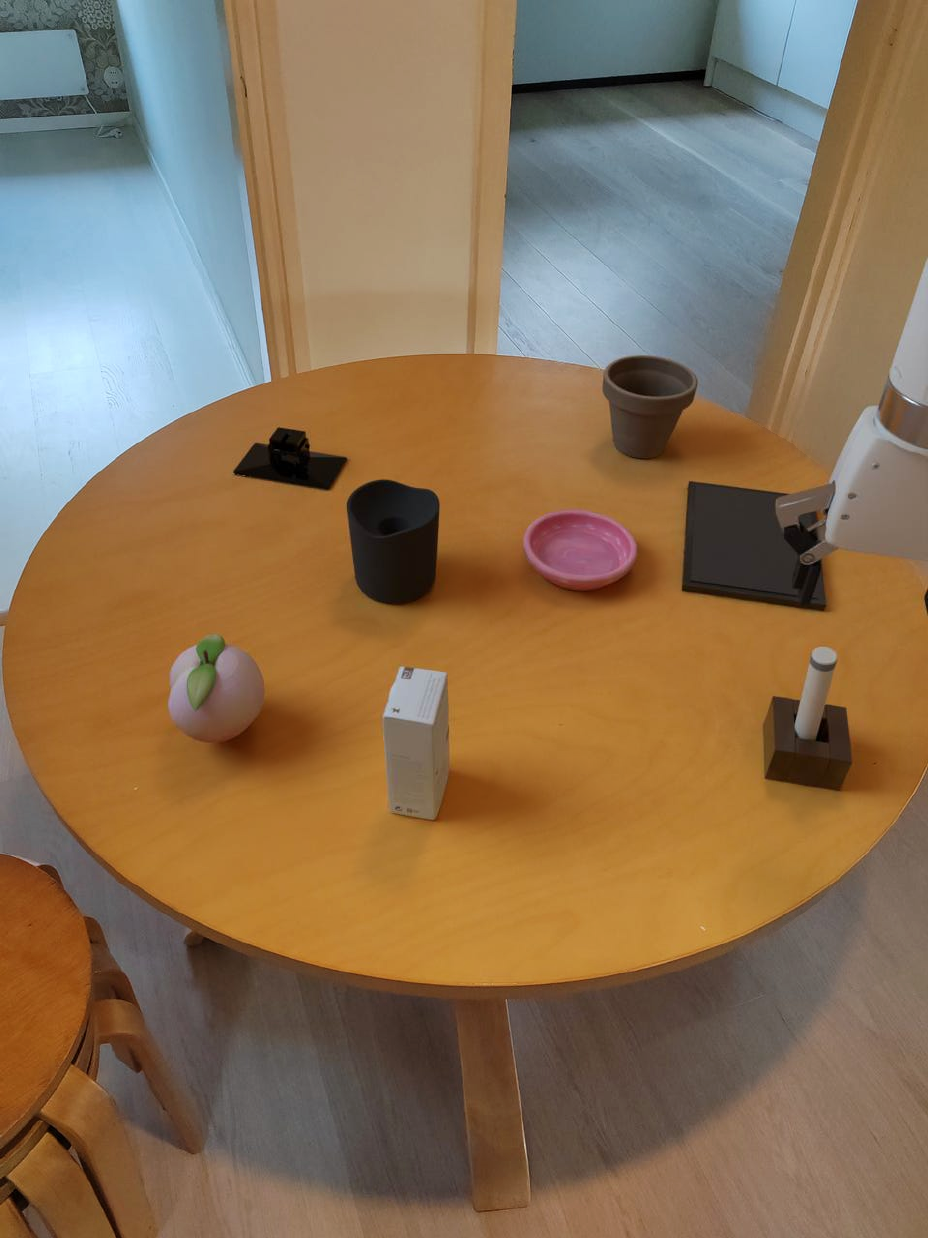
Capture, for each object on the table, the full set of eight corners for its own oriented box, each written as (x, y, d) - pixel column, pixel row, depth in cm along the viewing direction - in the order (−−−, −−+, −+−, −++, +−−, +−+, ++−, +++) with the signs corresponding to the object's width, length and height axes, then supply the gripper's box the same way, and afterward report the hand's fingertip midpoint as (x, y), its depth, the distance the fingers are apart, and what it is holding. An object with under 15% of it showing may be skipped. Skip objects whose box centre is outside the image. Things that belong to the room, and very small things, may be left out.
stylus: (809, 750, 90) (837, 647, 81) (811, 767, 89) (838, 664, 80) (786, 747, 90) (811, 645, 82) (787, 764, 89) (812, 662, 80)
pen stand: (834, 736, 92) (846, 707, 89) (839, 791, 87) (852, 762, 84) (762, 724, 92) (772, 695, 90) (764, 778, 88) (774, 749, 85)
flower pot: (643, 413, 133) (655, 344, 127) (702, 452, 126) (717, 382, 120) (576, 437, 129) (584, 367, 122) (634, 479, 122) (645, 408, 115)
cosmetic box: (436, 822, 83) (437, 727, 75) (385, 813, 84) (380, 718, 76) (451, 766, 88) (453, 671, 80) (402, 758, 88) (398, 663, 80)
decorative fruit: (272, 762, 88) (258, 684, 81) (178, 773, 87) (156, 696, 80) (268, 686, 95) (256, 609, 88) (181, 696, 93) (161, 618, 87)
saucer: (587, 517, 116) (590, 495, 113) (657, 576, 108) (661, 553, 106) (499, 552, 111) (501, 529, 108) (566, 616, 103) (569, 593, 101)
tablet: (813, 502, 119) (815, 496, 118) (824, 611, 104) (827, 604, 104) (687, 486, 121) (689, 479, 120) (681, 590, 106) (683, 583, 106)
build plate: (232, 475, 121) (227, 442, 118) (256, 444, 126) (251, 412, 123) (328, 490, 119) (325, 457, 115) (348, 458, 124) (346, 426, 121)
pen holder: (416, 543, 111) (414, 469, 105) (454, 592, 105) (455, 516, 99) (338, 566, 108) (332, 491, 101) (373, 618, 102) (369, 542, 95)
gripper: (1064, 396, 67) (974, 587, 78) (802, 369, 69) (752, 558, 81) (1094, 456, 61) (992, 652, 73) (808, 425, 64) (753, 619, 75)
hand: (866, 602), depth 77 cm, fingers open, 9 cm apart
